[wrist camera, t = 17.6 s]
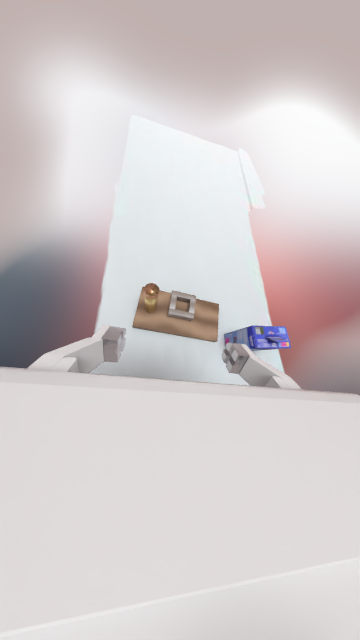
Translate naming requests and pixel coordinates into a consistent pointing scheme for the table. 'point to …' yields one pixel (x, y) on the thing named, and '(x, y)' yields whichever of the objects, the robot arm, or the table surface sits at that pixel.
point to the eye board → (179, 316)
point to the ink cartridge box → (260, 337)
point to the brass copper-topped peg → (151, 297)
